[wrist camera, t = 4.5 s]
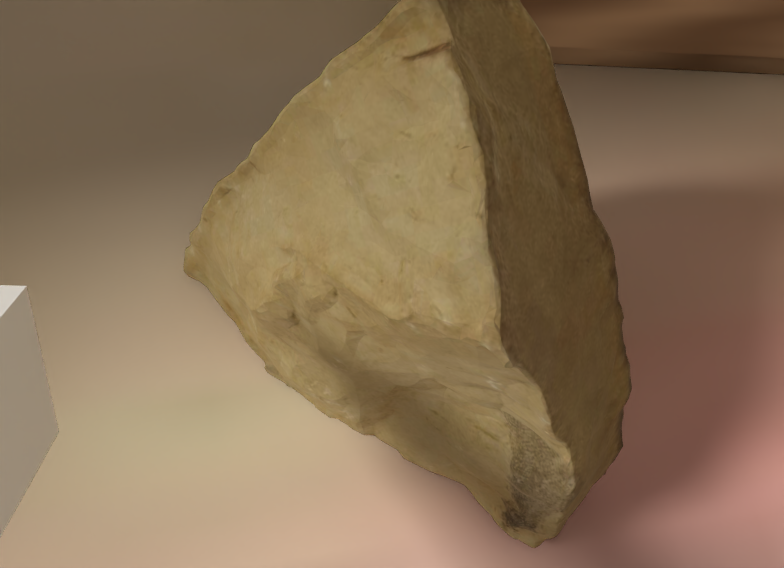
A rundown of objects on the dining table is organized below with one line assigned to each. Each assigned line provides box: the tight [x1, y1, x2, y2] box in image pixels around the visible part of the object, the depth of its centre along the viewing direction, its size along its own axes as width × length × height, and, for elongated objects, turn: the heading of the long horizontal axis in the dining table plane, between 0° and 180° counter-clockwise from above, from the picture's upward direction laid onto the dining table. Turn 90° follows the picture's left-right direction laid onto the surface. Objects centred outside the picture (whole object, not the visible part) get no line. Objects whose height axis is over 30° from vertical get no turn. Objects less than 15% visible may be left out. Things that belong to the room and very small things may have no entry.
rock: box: [184, 0, 631, 548], centre depth 15 cm, size 11×9×10 cm
